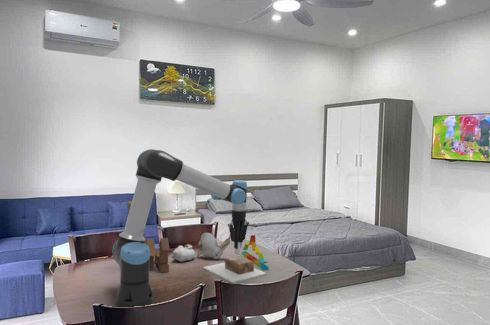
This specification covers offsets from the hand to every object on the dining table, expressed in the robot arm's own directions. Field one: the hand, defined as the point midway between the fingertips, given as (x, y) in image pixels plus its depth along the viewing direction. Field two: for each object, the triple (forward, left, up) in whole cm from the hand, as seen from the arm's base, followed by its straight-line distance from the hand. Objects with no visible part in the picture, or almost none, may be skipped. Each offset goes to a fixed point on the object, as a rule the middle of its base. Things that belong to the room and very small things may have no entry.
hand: (237, 254), depth 193 cm
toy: (+2, +25, -10) cm, 27 cm away
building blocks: (-37, +29, -10) cm, 48 cm away
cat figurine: (-14, +32, -10) cm, 36 cm away
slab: (-3, 0, -6) cm, 7 cm away
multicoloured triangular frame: (+19, +8, -10) cm, 23 cm away
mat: (-1, +1, -9) cm, 10 cm away
